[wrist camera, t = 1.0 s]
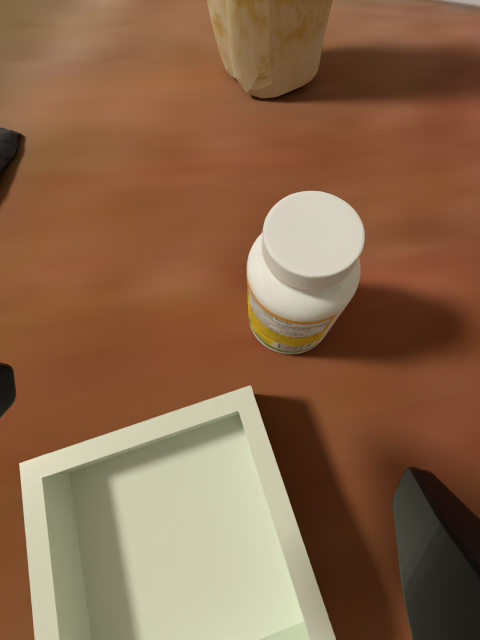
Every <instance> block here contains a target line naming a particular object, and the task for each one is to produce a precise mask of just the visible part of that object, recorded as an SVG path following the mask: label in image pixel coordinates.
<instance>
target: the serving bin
mask: <svg viewBox="0 0 480 640" xmlns="http://www.w3.org/2000/svg"><path fill="white" fill-rule="evenodd" d="M19 464H20V475H21V487H22V498H23V509H24V521H25V532H26V544H27V555H28V566H29V578H30V589H31V600H32V612H33V623H34V635H35V640H336V638H335V635H334V632H333V629H332V626H331V623H330V620H329V617H328V614H327V611H326V608H325V605H324V602H323V599H322V596H321V593H320V591H319V588H318V585H317V582H316V579H315V576H314V573H313V570H312V567H311V564H310V561H309V558H308V555H307V552H306V549H305V546H304V543H303V540H302V537H301V534H300V531H299V528H298V525H297V522H296V519H295V516H294V513H293V510H292V507H291V504H290V501H289V498H288V495H287V492H286V489H285V486H284V483H283V480H282V477H281V474H280V471H279V468H278V466H277V463H276V460H275V457H274V454H273V451H272V448H271V445H270V442H269V439H268V436H267V433H266V430H265V427H264V424H263V421H262V418H261V415H260V412H259V409H258V406H257V403H256V400H255V397H254V394H253V391H252V388H251V385H250V386H247V387H244V388H241V389H238V390H235V391H232V392H229V393H226V394H223V395H221V396H218V397H215V398H212V399H209V400H206V401H203V402H200V403H197V404H194V405H191V406H188V407H185V408H182V409H179V410H176V411H173V412H170V413H167V414H164V415H161V416H158V417H155V418H152V419H149V420H147V421H144V422H141V423H138V424H135V425H132V426H129V427H126V428H123V429H120V430H117V431H114V432H111V433H108V434H105V435H102V436H99V437H96V438H93V439H90V440H87V441H84V442H81V443H78V444H75V445H73V446H70V447H67V448H64V449H61V450H58V451H55V452H52V453H49V454H46V455H43V456H40V457H37V458H34V459H31V460H28V461H25V462H22V463H19Z"/></svg>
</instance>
